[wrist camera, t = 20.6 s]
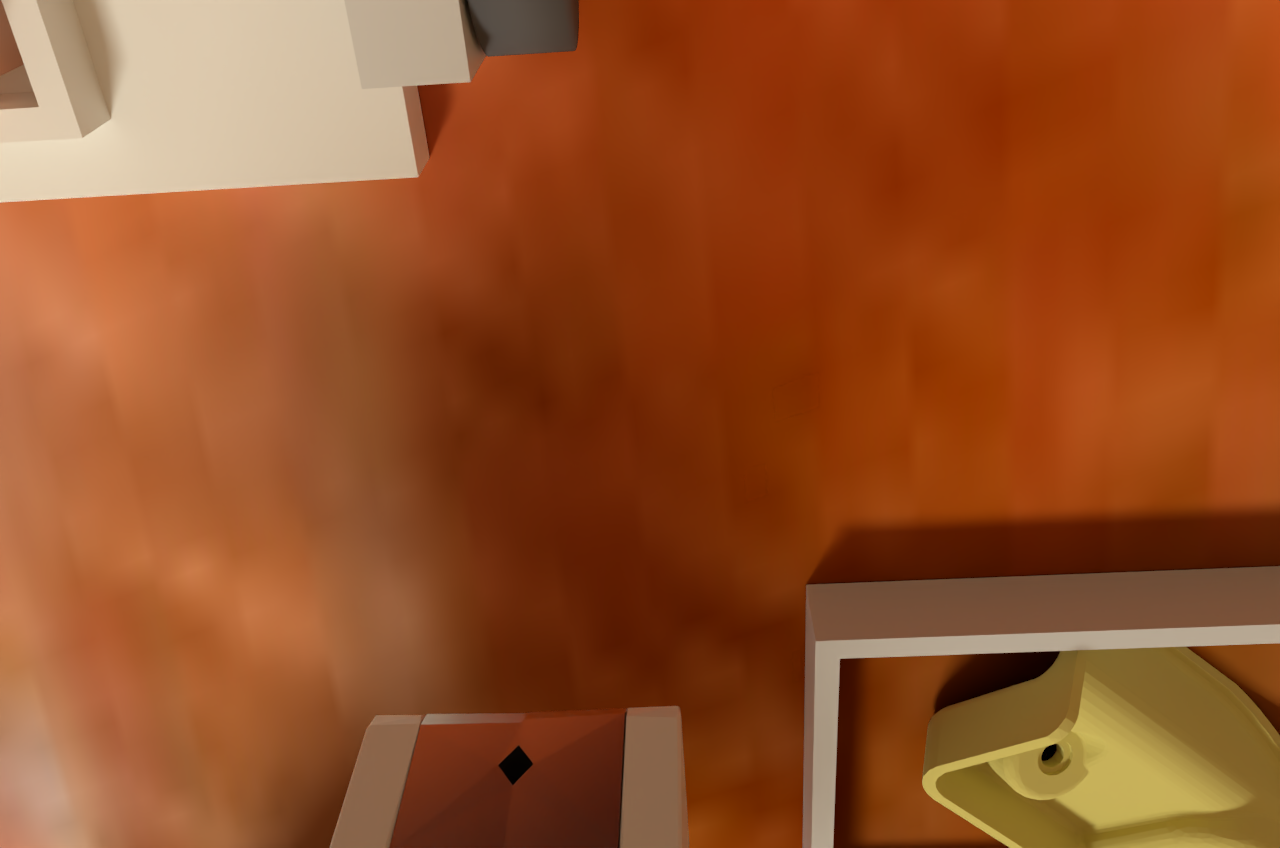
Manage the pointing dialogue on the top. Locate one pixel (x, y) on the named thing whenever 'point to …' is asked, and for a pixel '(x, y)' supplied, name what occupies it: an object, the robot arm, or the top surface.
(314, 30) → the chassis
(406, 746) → the robot arm
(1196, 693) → the plastic component
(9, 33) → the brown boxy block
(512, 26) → the wheel
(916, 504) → the top surface
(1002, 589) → the sorting frame
